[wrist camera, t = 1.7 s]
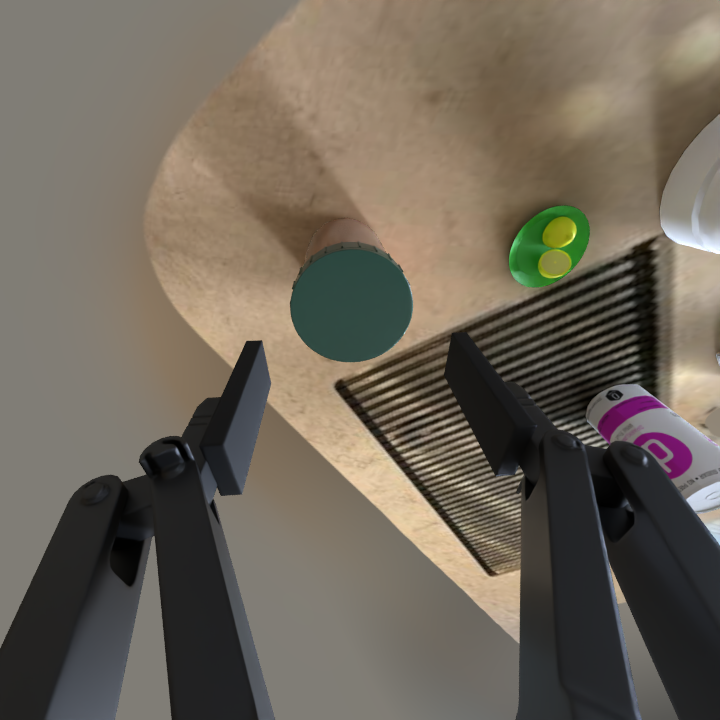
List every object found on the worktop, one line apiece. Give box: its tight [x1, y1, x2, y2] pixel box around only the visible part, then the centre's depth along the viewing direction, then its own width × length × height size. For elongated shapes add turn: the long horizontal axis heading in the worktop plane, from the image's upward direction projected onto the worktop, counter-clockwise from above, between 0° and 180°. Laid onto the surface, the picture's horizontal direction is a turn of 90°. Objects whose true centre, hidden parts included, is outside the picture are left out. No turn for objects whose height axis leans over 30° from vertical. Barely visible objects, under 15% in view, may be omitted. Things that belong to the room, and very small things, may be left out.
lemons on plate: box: [509, 205, 590, 287], centre depth 30 cm, size 8×8×3 cm
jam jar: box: [304, 218, 386, 264], centre depth 25 cm, size 8×8×12 cm
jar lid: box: [290, 241, 413, 362], centre depth 21 cm, size 8×8×2 cm
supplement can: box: [586, 384, 720, 514], centre depth 39 cm, size 8×8×15 cm
